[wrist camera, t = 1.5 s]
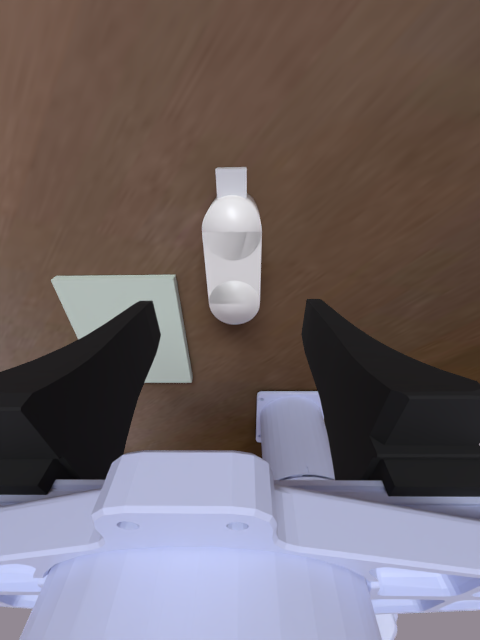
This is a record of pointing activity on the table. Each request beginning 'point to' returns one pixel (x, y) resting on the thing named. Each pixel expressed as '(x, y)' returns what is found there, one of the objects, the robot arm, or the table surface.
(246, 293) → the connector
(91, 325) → the sage pad
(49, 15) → the table surface
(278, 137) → the table surface
